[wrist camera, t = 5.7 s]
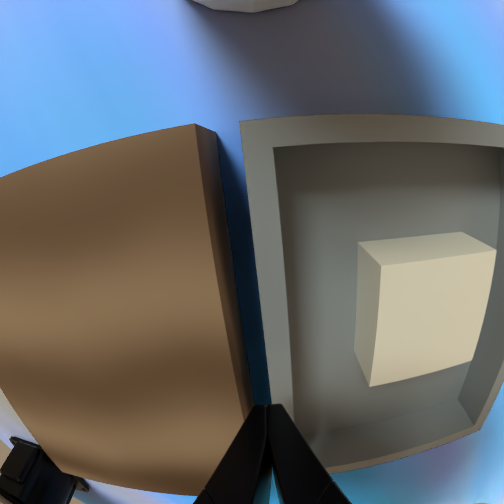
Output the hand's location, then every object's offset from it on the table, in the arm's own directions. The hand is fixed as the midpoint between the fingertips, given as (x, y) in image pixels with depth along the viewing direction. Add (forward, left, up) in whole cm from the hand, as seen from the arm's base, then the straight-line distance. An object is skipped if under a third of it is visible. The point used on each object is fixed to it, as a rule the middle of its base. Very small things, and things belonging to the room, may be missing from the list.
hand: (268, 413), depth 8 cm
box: (0, -6, -5) cm, 8 cm away
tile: (+1, -6, -2) cm, 7 cm away
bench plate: (0, +7, -5) cm, 9 cm away
